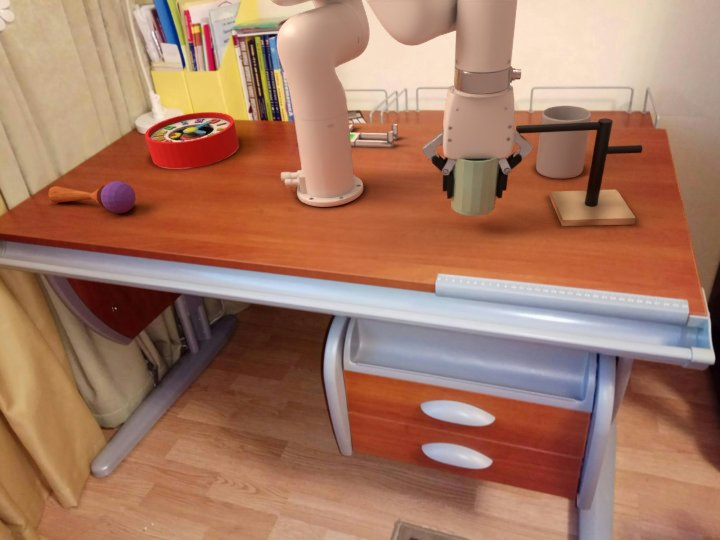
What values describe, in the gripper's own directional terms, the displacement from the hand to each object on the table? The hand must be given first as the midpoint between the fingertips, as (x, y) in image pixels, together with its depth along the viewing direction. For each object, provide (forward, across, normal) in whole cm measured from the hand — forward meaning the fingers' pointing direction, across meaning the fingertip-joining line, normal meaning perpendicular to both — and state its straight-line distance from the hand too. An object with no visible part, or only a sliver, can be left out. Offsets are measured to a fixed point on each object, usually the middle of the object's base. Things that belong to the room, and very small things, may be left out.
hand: (473, 193), depth 86 cm
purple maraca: (+8, +71, -12) cm, 73 cm away
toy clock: (+8, +60, -39) cm, 72 cm away
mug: (+6, -19, -23) cm, 30 cm away
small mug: (+2, 0, -2) cm, 3 cm away
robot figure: (+8, +24, -40) cm, 48 cm away
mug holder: (+6, -16, -5) cm, 18 cm away
